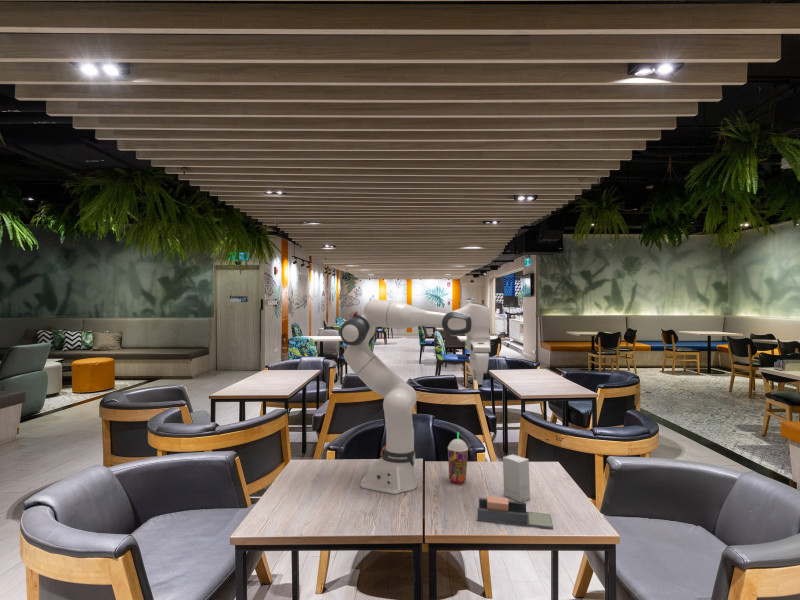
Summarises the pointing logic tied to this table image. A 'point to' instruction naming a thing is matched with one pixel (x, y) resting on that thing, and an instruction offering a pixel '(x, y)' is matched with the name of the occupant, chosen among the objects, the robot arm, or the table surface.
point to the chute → (513, 515)
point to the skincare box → (516, 478)
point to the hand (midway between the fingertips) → (477, 382)
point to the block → (497, 503)
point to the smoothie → (457, 460)
